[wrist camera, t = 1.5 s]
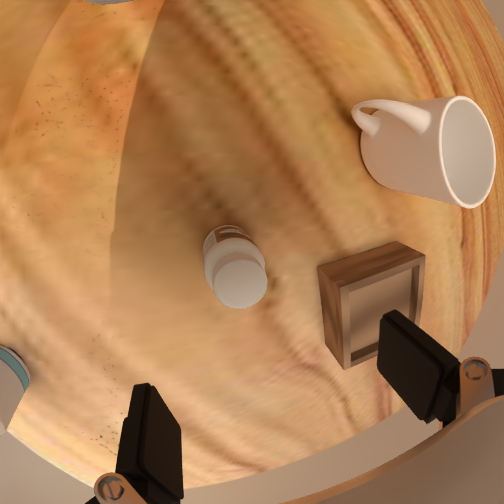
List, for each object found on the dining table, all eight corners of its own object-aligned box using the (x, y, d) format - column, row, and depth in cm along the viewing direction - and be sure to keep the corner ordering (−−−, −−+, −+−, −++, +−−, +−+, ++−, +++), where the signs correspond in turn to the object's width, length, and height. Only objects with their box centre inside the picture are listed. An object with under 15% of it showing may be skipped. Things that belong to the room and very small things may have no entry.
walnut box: (315, 265, 27) (339, 287, 22) (394, 240, 28) (425, 254, 23) (324, 342, 30) (343, 370, 26) (393, 313, 31) (417, 334, 27)
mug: (342, 75, 21) (417, 42, 11) (426, 134, 25) (501, 136, 15) (315, 152, 23) (390, 150, 13) (405, 201, 27) (481, 224, 17)
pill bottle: (260, 235, 25) (286, 265, 17) (240, 278, 26) (257, 323, 18) (213, 216, 23) (221, 240, 16) (195, 262, 24) (195, 304, 17)
